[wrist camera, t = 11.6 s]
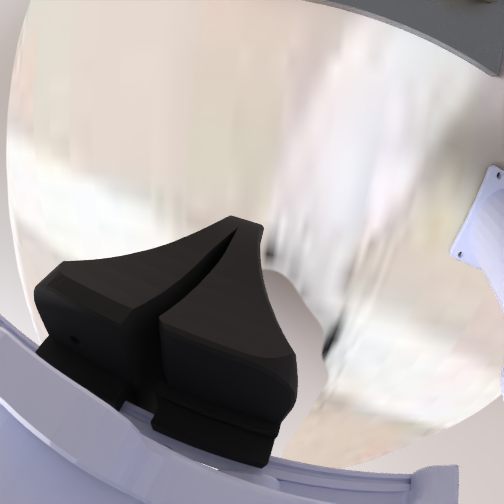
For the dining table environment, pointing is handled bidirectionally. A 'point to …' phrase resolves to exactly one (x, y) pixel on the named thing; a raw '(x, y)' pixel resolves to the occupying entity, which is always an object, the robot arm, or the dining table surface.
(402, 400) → the dining table surface
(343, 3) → the plate
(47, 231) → the dining table surface
